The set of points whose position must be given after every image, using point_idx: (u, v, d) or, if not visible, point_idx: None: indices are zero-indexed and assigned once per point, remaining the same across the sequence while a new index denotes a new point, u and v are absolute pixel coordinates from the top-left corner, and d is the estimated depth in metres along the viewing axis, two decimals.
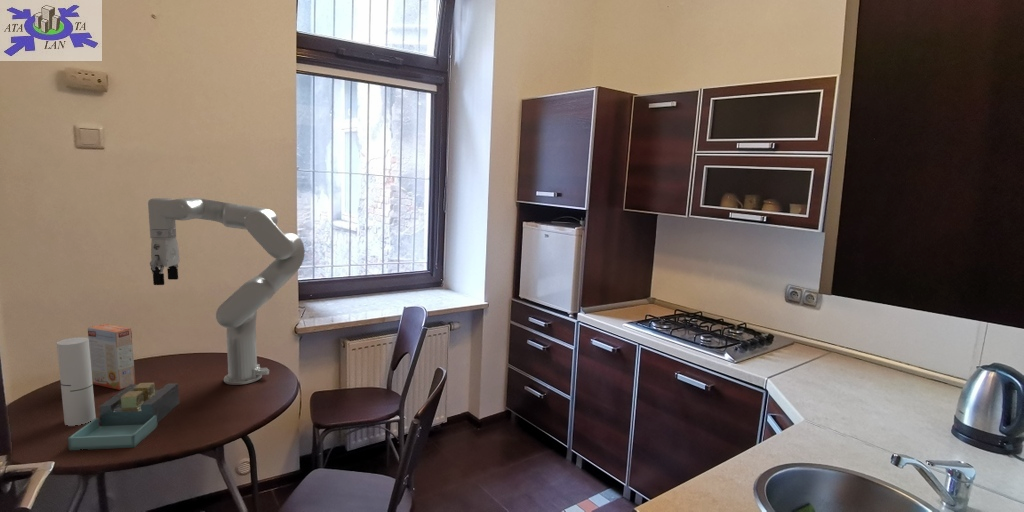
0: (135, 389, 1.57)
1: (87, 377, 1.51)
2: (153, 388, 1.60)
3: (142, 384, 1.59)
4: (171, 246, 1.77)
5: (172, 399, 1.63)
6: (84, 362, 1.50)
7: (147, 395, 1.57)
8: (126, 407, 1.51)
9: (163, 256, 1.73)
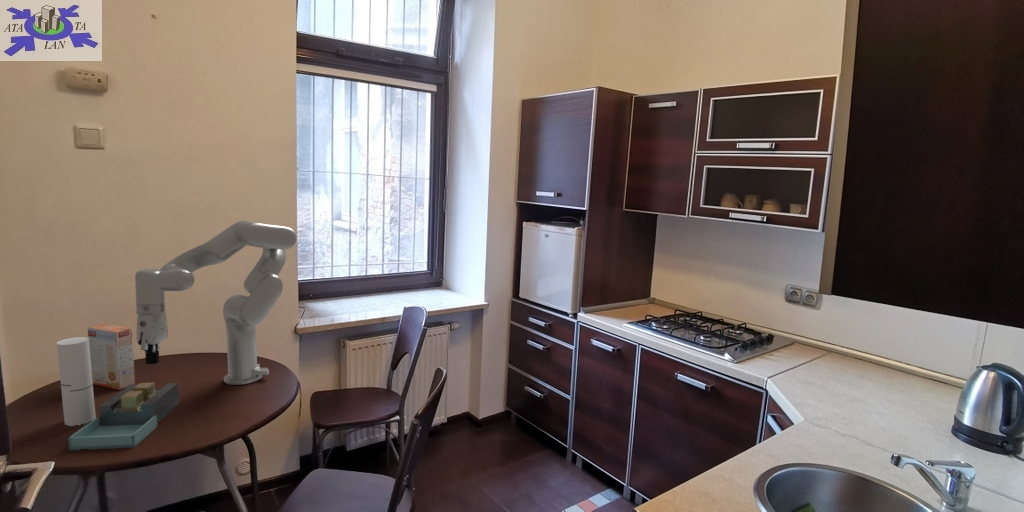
0: (135, 389, 1.57)
1: (87, 377, 1.51)
2: (153, 388, 1.60)
3: (142, 384, 1.59)
4: (158, 322, 1.62)
5: (172, 399, 1.63)
6: (84, 362, 1.50)
7: (147, 395, 1.57)
8: (126, 407, 1.51)
9: (150, 334, 1.59)
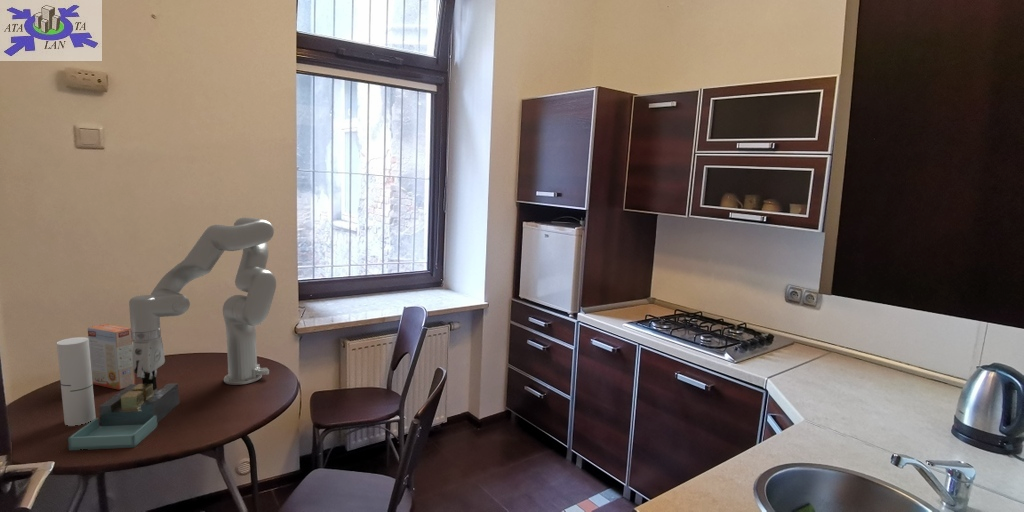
0: (133, 390, 1.56)
1: (87, 377, 1.51)
2: (151, 389, 1.59)
3: (140, 385, 1.58)
4: (154, 349, 1.60)
5: (172, 399, 1.63)
6: (84, 362, 1.50)
7: (145, 396, 1.57)
8: (126, 407, 1.51)
9: (146, 361, 1.56)
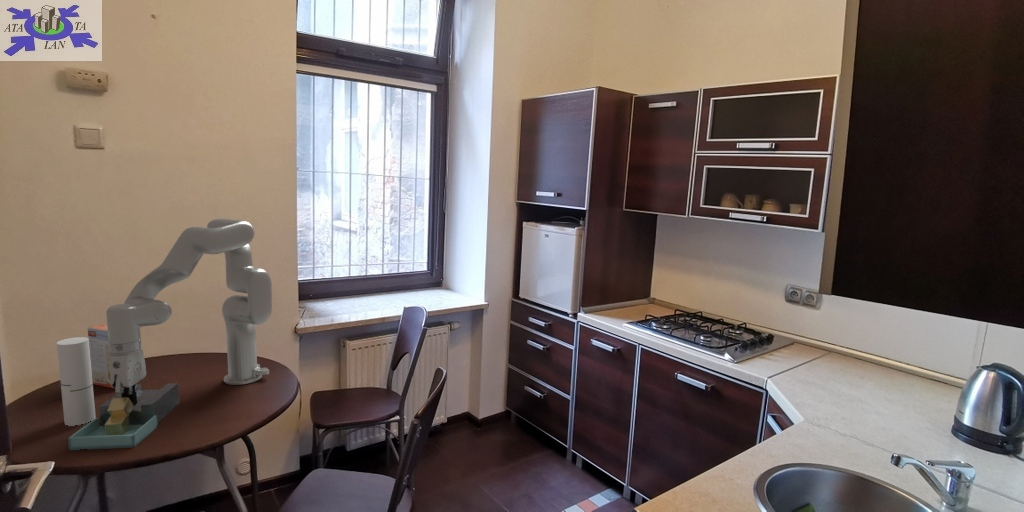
0: (110, 411, 1.44)
1: (87, 377, 1.51)
2: (129, 402, 1.48)
3: (115, 402, 1.46)
4: (134, 361, 1.49)
5: (172, 399, 1.63)
6: (84, 362, 1.50)
7: (126, 414, 1.46)
8: None
9: (124, 375, 1.45)
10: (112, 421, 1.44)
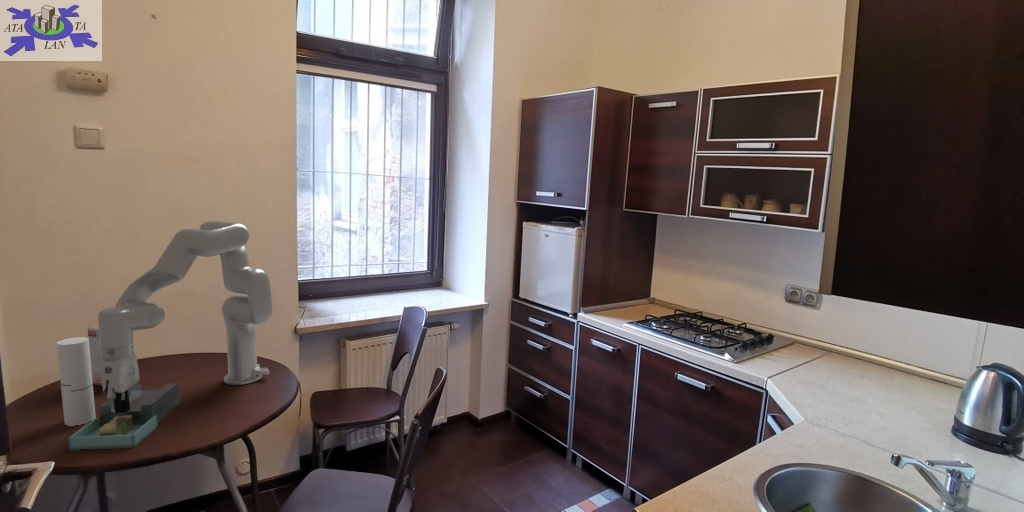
0: (117, 416, 1.47)
1: (87, 377, 1.51)
2: (130, 427, 1.47)
3: None
4: (127, 366, 1.45)
5: (172, 399, 1.63)
6: (84, 362, 1.50)
7: (126, 419, 1.45)
8: None
9: (117, 381, 1.42)
10: None
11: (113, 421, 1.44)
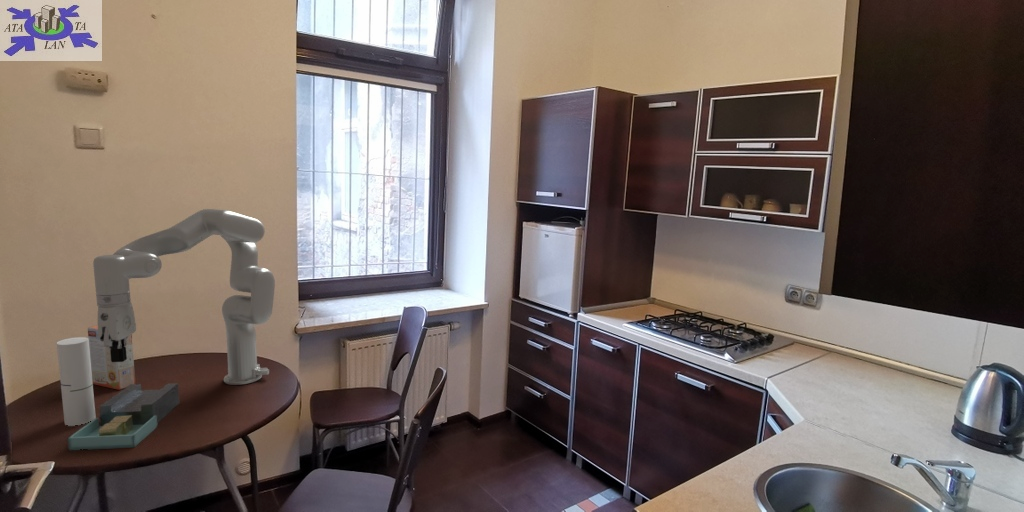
0: (117, 416, 1.47)
1: (87, 377, 1.51)
2: (130, 427, 1.47)
3: None
4: (123, 314, 1.43)
5: (172, 399, 1.63)
6: (84, 362, 1.50)
7: (126, 419, 1.45)
8: None
9: (113, 328, 1.40)
10: None
11: (113, 421, 1.44)
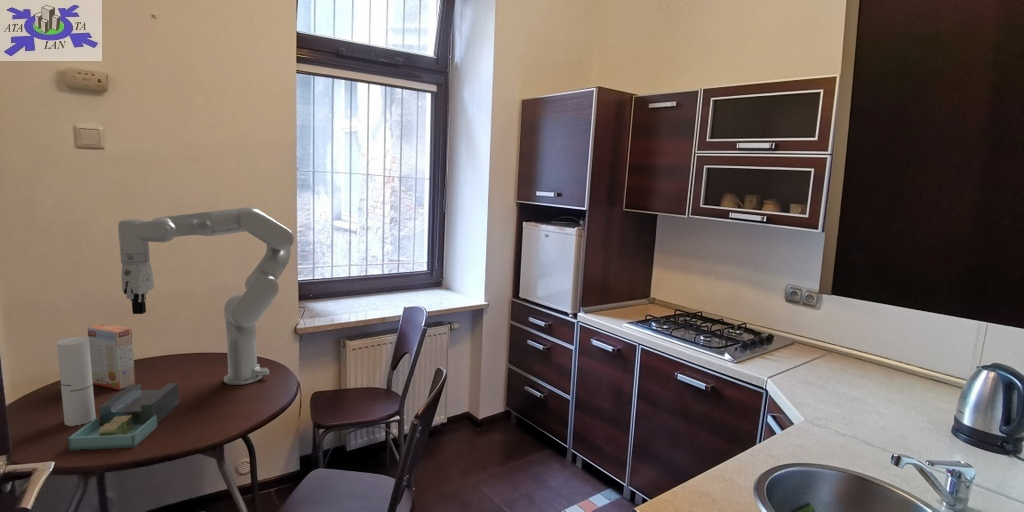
0: (117, 416, 1.47)
1: (87, 377, 1.51)
2: (130, 427, 1.47)
3: None
4: (143, 272, 1.64)
5: (172, 399, 1.63)
6: (84, 362, 1.50)
7: (126, 419, 1.45)
8: None
9: (135, 283, 1.60)
10: None
11: (113, 421, 1.44)
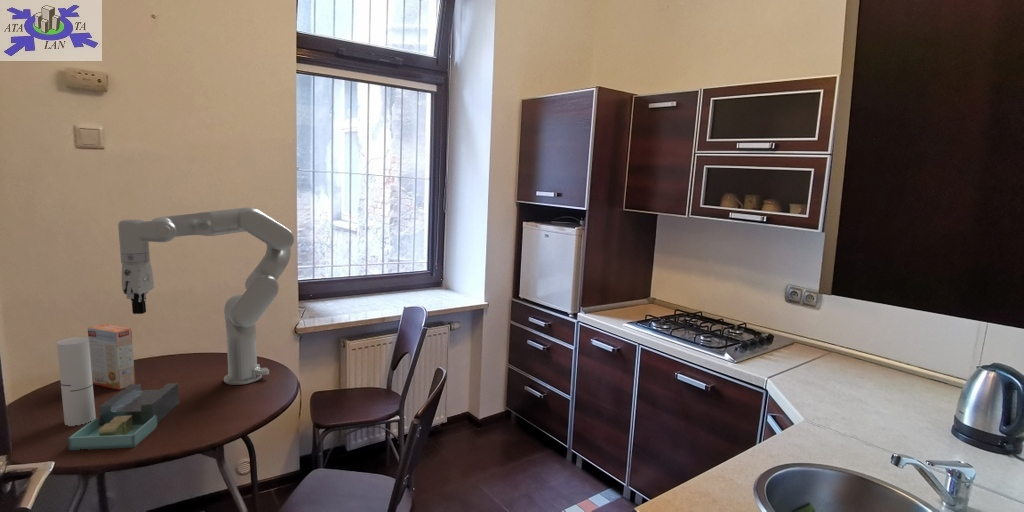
0: (117, 416, 1.47)
1: (87, 377, 1.51)
2: (130, 427, 1.47)
3: None
4: (143, 271, 1.64)
5: (172, 399, 1.63)
6: (84, 362, 1.50)
7: (126, 419, 1.45)
8: None
9: (135, 282, 1.60)
10: None
11: (113, 421, 1.44)
